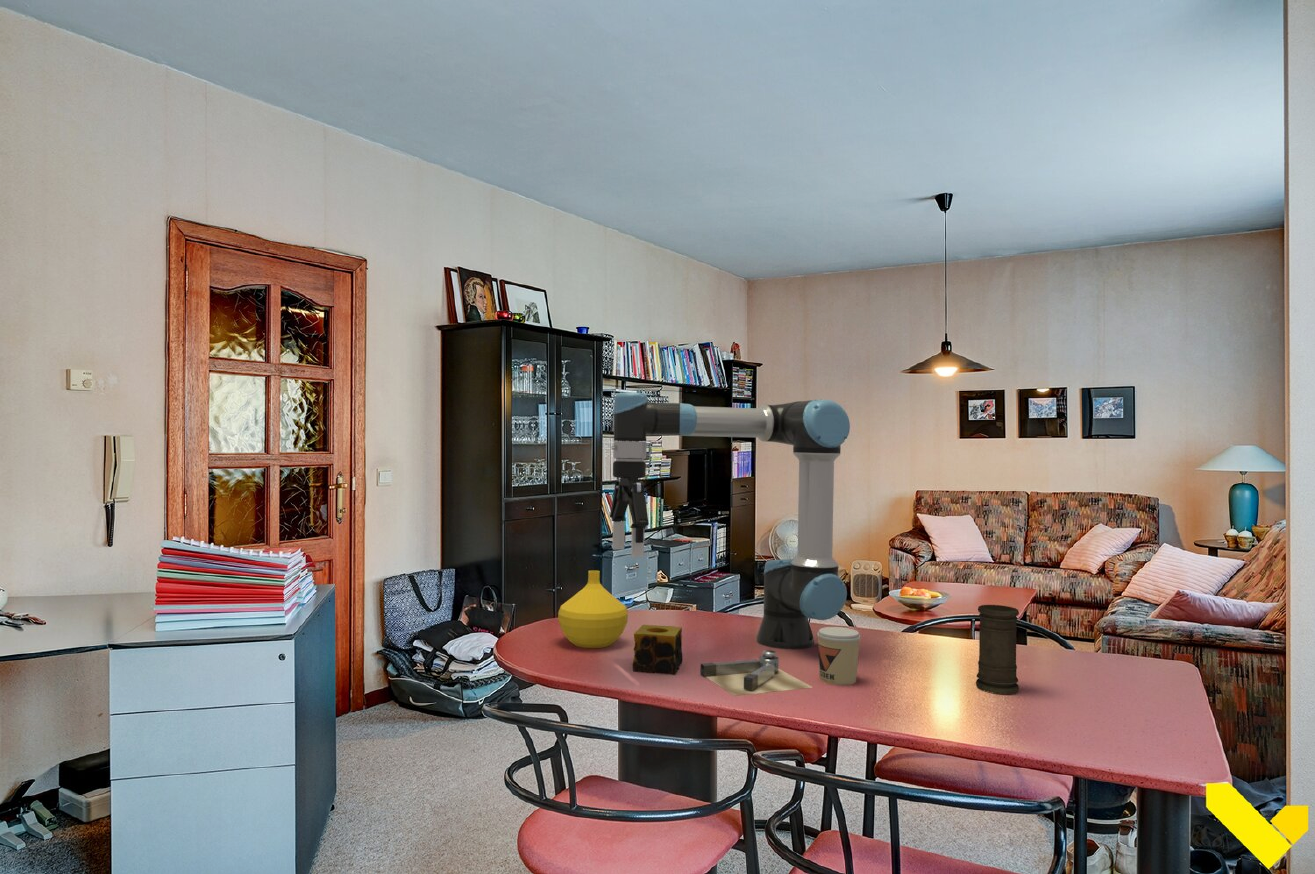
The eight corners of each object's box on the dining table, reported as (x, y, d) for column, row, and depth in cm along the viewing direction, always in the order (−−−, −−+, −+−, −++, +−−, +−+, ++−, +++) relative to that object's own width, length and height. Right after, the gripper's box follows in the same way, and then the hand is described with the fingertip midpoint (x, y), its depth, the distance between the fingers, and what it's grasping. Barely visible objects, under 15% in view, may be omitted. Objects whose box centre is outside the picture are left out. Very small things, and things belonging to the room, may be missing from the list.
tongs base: (771, 668, 191) (771, 654, 191) (781, 673, 186) (782, 659, 186) (700, 674, 184) (700, 660, 184) (709, 680, 180) (709, 666, 180)
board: (774, 671, 192) (774, 666, 192) (813, 693, 176) (813, 687, 176) (700, 678, 185) (700, 673, 185) (733, 701, 169) (733, 695, 169)
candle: (675, 680, 184) (676, 636, 184) (631, 677, 186) (632, 633, 186) (683, 668, 194) (683, 626, 194) (641, 665, 196) (642, 623, 196)
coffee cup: (808, 681, 185) (809, 628, 185) (842, 677, 189) (843, 625, 189) (832, 693, 176) (833, 637, 176) (868, 688, 180) (869, 634, 180)
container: (1000, 697, 176) (1001, 613, 176) (966, 685, 184) (968, 605, 184) (1028, 691, 180) (1029, 610, 180) (994, 680, 188) (995, 602, 188)
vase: (588, 632, 228) (590, 563, 228) (641, 642, 217) (642, 570, 217) (543, 644, 213) (544, 571, 213) (596, 656, 202) (598, 579, 202)
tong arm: (765, 668, 190) (765, 649, 190) (781, 670, 188) (782, 652, 188) (734, 687, 174) (734, 667, 174) (752, 690, 172) (752, 670, 172)
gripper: (598, 458, 197) (596, 546, 197) (631, 461, 174) (629, 561, 174) (627, 458, 200) (625, 545, 200) (664, 462, 176) (662, 560, 176)
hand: (627, 553), depth 187 cm, fingers open, 13 cm apart
